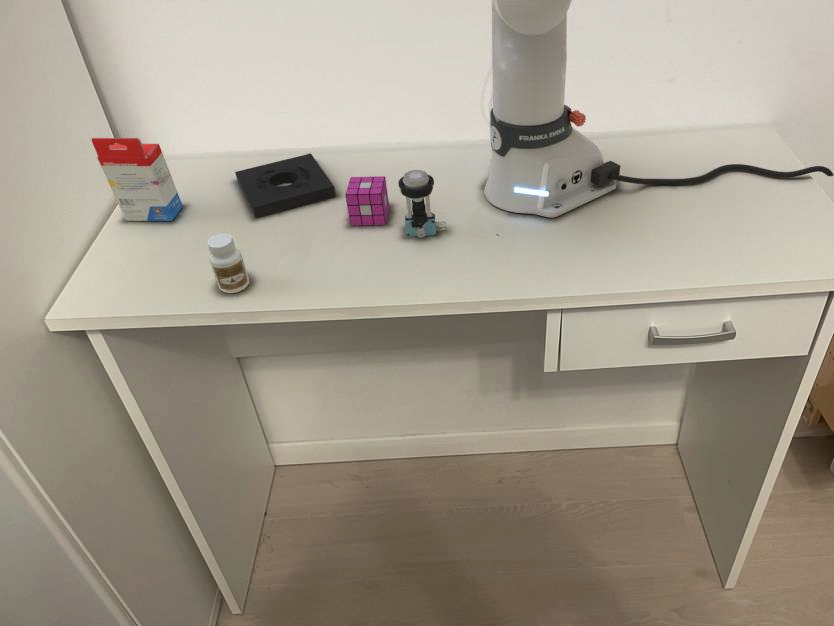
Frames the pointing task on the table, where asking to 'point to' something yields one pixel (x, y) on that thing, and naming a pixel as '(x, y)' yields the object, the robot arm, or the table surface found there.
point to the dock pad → (274, 198)
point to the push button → (419, 204)
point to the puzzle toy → (367, 200)
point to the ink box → (138, 179)
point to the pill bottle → (227, 264)
